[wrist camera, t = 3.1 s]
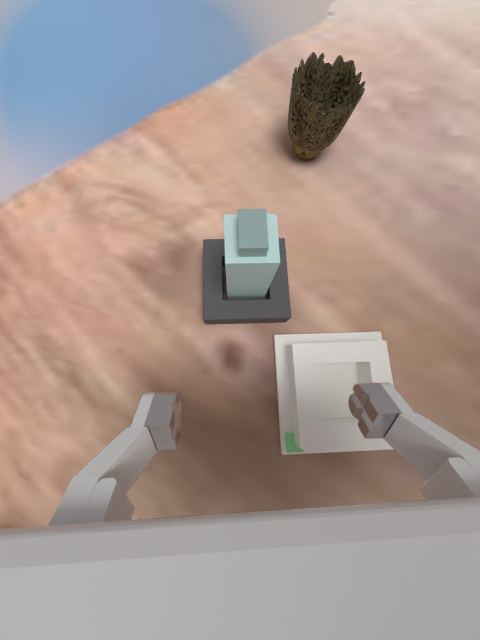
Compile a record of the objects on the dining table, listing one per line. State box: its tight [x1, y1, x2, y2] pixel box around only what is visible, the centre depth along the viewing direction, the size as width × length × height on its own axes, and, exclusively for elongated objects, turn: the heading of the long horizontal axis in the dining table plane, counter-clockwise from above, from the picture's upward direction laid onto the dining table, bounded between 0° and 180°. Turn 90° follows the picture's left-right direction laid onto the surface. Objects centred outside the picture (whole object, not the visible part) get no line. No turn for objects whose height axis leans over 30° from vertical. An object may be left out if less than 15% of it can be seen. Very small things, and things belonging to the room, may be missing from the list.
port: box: [273, 332, 394, 455], centre depth 23 cm, size 12×12×3 cm
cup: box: [288, 52, 365, 160], centre depth 27 cm, size 8×7×8 cm
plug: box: [224, 209, 280, 300], centre depth 21 cm, size 4×4×11 cm
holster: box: [203, 238, 291, 324], centre depth 25 cm, size 9×9×2 cm
